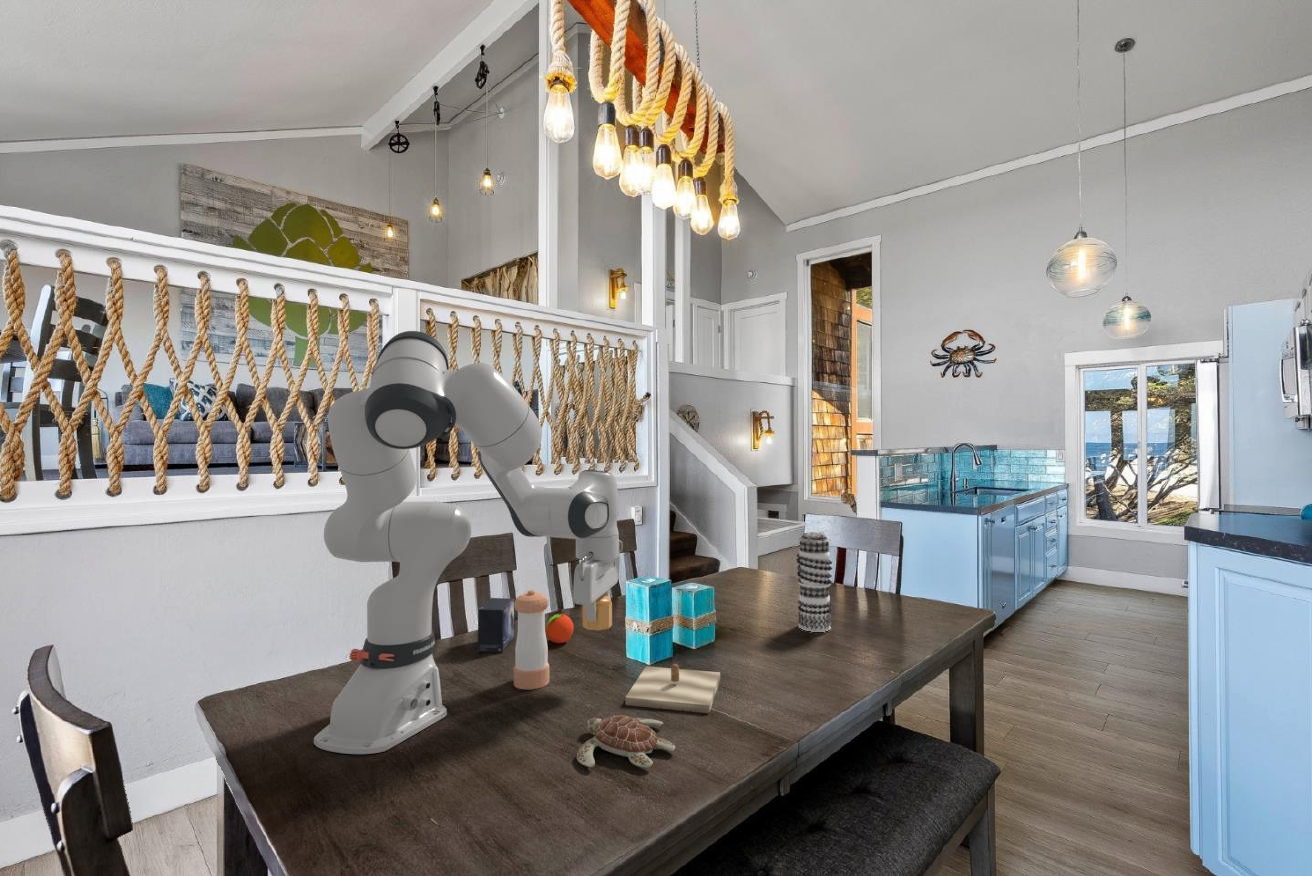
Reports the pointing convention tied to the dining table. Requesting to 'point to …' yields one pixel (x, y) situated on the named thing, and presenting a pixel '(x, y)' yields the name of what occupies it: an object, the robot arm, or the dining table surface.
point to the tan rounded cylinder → (599, 615)
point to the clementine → (559, 628)
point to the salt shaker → (531, 642)
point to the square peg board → (674, 689)
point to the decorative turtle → (623, 739)
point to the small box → (495, 625)
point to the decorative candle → (814, 582)
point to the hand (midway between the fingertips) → (597, 615)
